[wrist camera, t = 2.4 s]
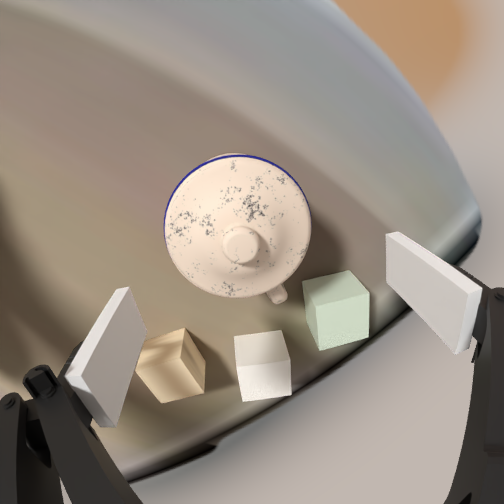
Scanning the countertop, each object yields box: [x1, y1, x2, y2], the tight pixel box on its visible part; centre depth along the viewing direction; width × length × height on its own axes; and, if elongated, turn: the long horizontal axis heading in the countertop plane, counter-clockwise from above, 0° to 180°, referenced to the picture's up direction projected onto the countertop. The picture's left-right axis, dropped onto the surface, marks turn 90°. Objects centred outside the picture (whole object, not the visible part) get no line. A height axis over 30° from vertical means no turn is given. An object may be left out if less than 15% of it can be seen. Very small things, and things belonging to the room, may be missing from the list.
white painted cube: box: [234, 330, 291, 402], centre depth 30 cm, size 5×5×5 cm
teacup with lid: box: [164, 153, 312, 304], centre depth 22 cm, size 12×9×12 cm
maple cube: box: [135, 328, 206, 403], centre depth 29 cm, size 5×5×5 cm
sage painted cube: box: [302, 270, 369, 351], centre depth 29 cm, size 5×5×5 cm
